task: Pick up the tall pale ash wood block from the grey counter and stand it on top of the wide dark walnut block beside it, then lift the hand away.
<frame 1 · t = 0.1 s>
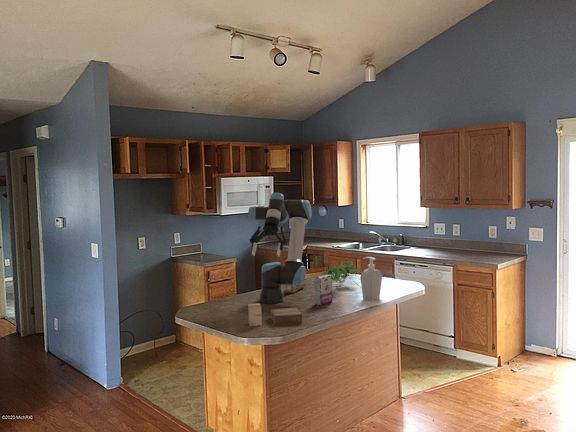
hand: (265, 255, 260), 36 cm above the countertop, tool tilted 35°, fingers open, 13 cm apart
soap bottle: (370, 298, 315), on the countertop
plant cuttings: (345, 289, 341), on the countertop
walnut block: (286, 321, 270), on the countertop
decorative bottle: (292, 291, 338), on the countertop
ash block: (254, 324, 263), on the countertop
candy bar box: (323, 303, 305), on the countertop
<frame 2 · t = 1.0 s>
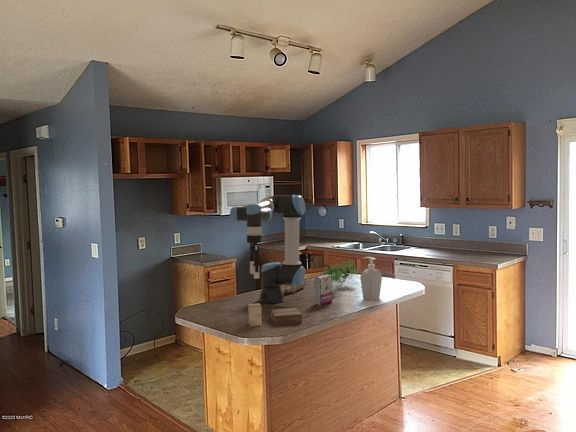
hand: (254, 276, 262), 25 cm above the countertop, tool pointing down, fingers open, 13 cm apart
nothing on the countertop moved.
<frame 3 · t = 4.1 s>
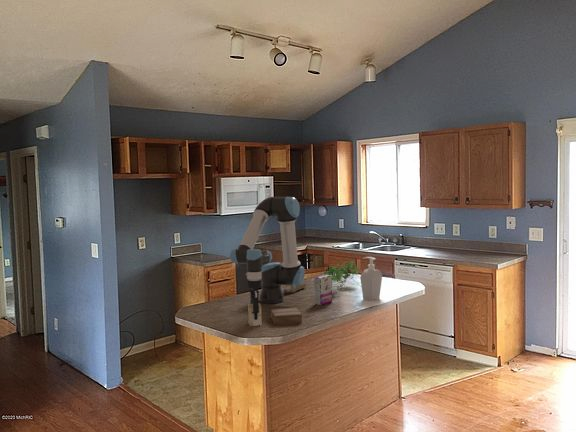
hand: (254, 323, 263), 0 cm above the countertop, tool pointing down, fingers closed on ash block, 6 cm apart
ash block: (255, 324, 263), on the countertop, touching gripper
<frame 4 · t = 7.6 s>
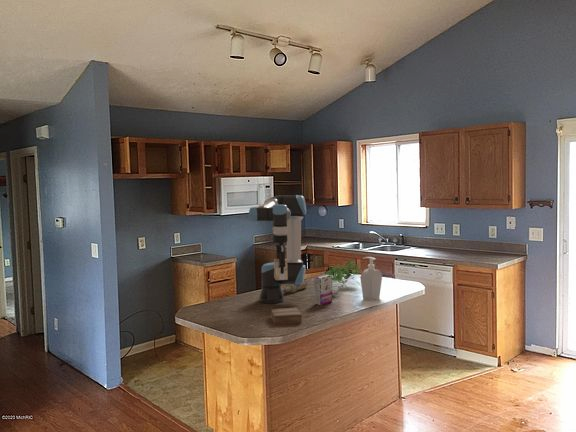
hand: (280, 278, 267), 23 cm above the countertop, tool pointing down, fingers closed on ash block, 6 cm apart
ash block: (280, 278, 267), point 22 cm above the countertop, touching gripper
when the fingers open (6 cm above the countertop, at t = 10.7 s): ash block drops 1 cm, resting on walnut block.
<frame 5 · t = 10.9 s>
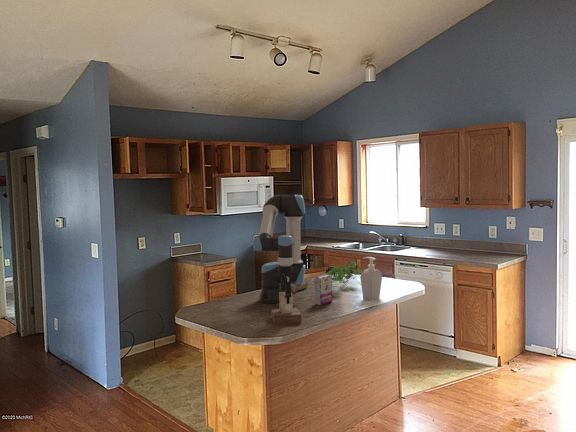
hand: (285, 307, 269), 7 cm above the countertop, tool pointing down, fingers open, 9 cm apart
walnut block: (286, 321, 270), on the countertop, touching ash block
ash block: (286, 311, 269), point 5 cm above the countertop, touching walnut block
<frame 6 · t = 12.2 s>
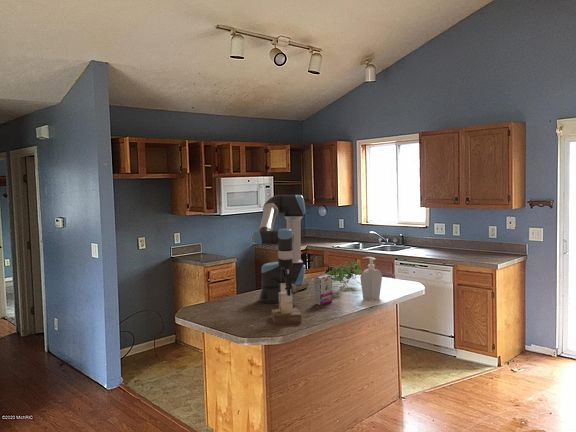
hand: (285, 298, 269), 12 cm above the countertop, tool pointing down, fingers open, 13 cm apart
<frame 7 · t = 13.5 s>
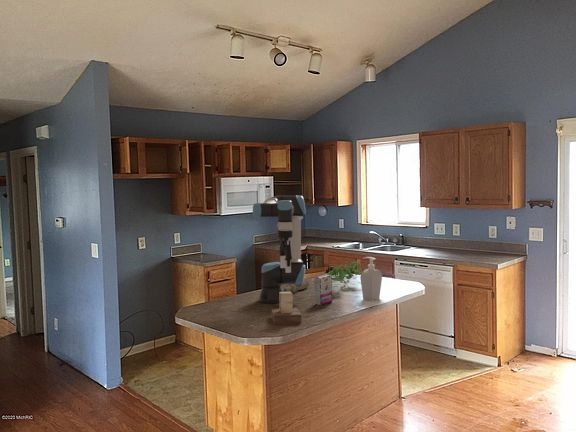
hand: (285, 270, 268), 27 cm above the countertop, tool pointing down, fingers open, 13 cm apart
walnut block: (285, 321, 270), on the countertop
ash block: (285, 311, 269), point 5 cm above the countertop
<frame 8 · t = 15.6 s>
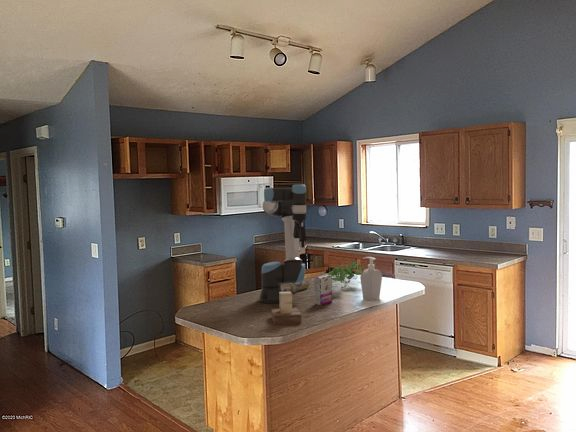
hand: (299, 251, 279), 35 cm above the countertop, tool pointing down, fingers open, 13 cm apart
at the end: ash block inside the target area on the walnut block (0.2 cm from its centre), point 5.0 cm above the walnut block's base; ash block tilted 1°; the gripper is holding nothing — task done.
